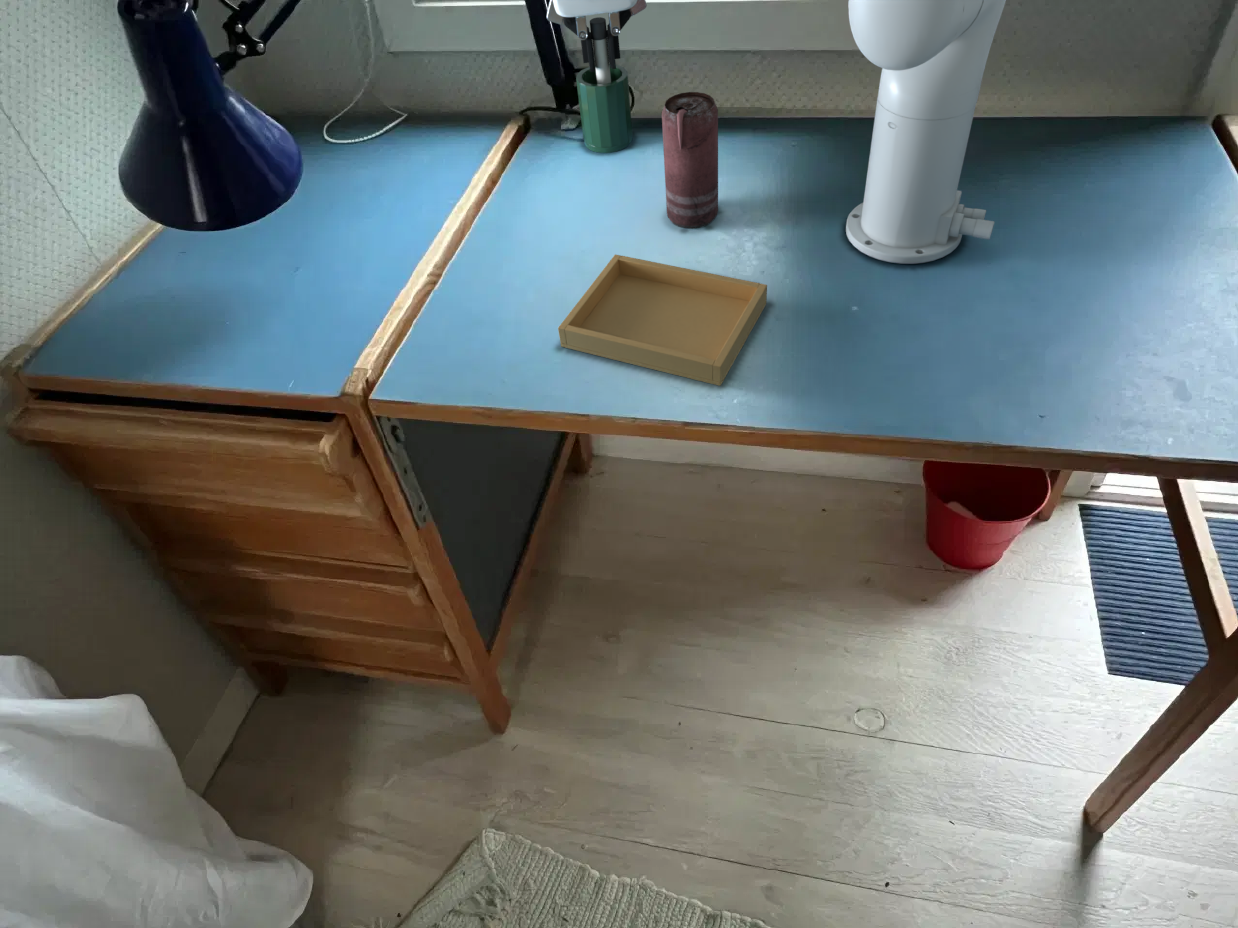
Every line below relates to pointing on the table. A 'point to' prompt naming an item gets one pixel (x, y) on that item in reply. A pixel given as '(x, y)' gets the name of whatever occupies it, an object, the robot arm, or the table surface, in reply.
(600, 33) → the marker
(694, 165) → the can
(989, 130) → the table surface
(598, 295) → the tray
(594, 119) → the tumbler
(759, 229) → the table surface
